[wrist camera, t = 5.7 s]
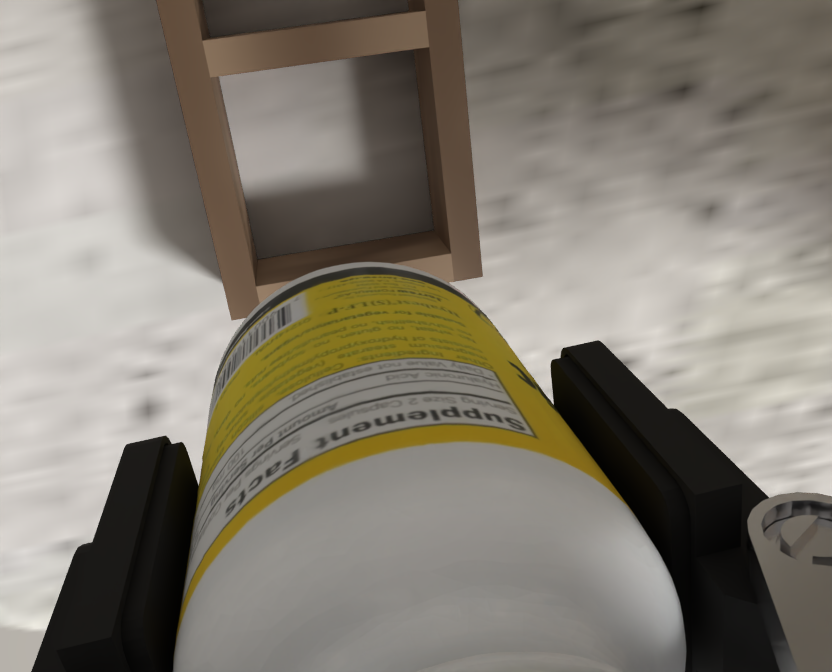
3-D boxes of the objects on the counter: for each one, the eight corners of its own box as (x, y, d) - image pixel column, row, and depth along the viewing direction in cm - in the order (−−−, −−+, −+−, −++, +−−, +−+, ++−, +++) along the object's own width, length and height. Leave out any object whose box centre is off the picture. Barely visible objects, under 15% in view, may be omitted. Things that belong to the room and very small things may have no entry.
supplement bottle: (504, 497, 16) (808, 1137, 7) (233, 531, 15) (171, 1304, 6) (510, 240, 14) (963, 679, 5) (194, 263, 13) (9, 844, 4)
